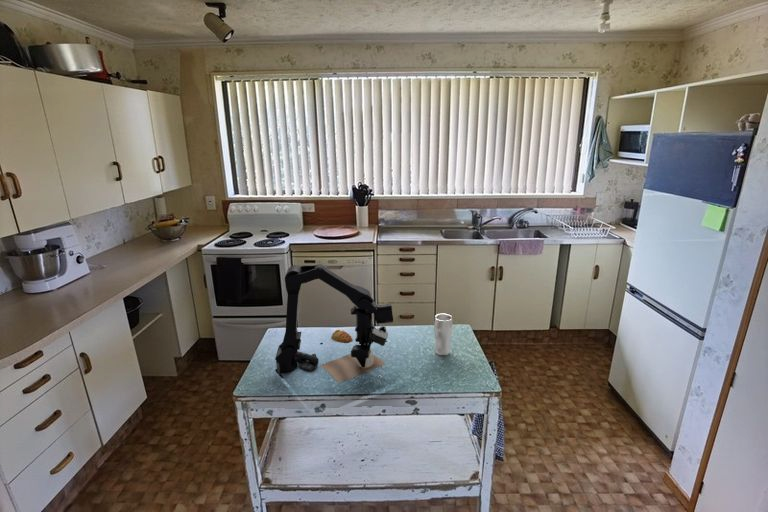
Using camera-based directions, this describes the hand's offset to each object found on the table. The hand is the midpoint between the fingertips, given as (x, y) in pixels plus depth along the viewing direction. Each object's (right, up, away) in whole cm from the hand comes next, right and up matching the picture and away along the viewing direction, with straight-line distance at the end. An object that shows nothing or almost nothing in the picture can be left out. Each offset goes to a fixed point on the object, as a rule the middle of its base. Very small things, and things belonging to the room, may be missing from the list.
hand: (365, 361), depth 145 cm
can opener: (-25, -2, +2) cm, 25 cm away
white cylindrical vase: (+30, +1, +10) cm, 32 cm away
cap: (0, 0, 0) cm, 0 cm away
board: (-4, -2, 0) cm, 5 cm away
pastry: (-11, +3, +20) cm, 23 cm away
